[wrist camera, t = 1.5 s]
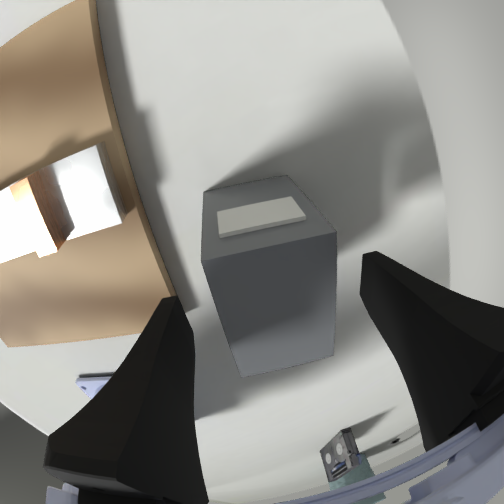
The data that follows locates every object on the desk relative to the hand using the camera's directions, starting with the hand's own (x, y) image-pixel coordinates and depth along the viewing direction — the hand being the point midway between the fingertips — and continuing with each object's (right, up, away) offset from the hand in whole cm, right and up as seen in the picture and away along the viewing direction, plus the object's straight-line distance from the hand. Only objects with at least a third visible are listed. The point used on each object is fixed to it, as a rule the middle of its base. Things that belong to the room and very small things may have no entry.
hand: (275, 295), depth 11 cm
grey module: (-1, +2, +4) cm, 5 cm away
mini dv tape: (+11, -25, +23) cm, 36 cm away
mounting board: (-14, +4, +1) cm, 15 cm away
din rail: (-14, +4, +1) cm, 15 cm away
